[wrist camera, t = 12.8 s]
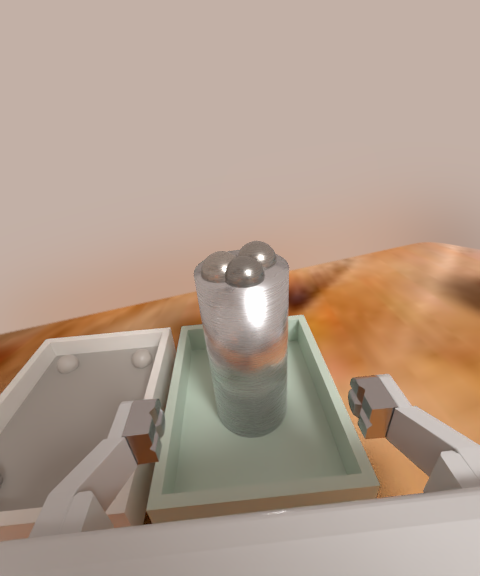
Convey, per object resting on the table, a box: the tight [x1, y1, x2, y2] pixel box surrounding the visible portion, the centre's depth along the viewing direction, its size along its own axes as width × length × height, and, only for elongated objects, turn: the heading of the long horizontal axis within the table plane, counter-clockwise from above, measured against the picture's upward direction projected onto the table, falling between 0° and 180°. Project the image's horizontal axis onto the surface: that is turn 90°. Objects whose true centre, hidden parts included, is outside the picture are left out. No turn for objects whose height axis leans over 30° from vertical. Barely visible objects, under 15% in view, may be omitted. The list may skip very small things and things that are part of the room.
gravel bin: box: [0, 327, 176, 541], centre depth 20 cm, size 11×14×3 cm
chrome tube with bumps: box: [194, 241, 289, 438], centre depth 17 cm, size 5×5×12 cm
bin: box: [146, 315, 380, 524], centre depth 20 cm, size 11×14×3 cm
